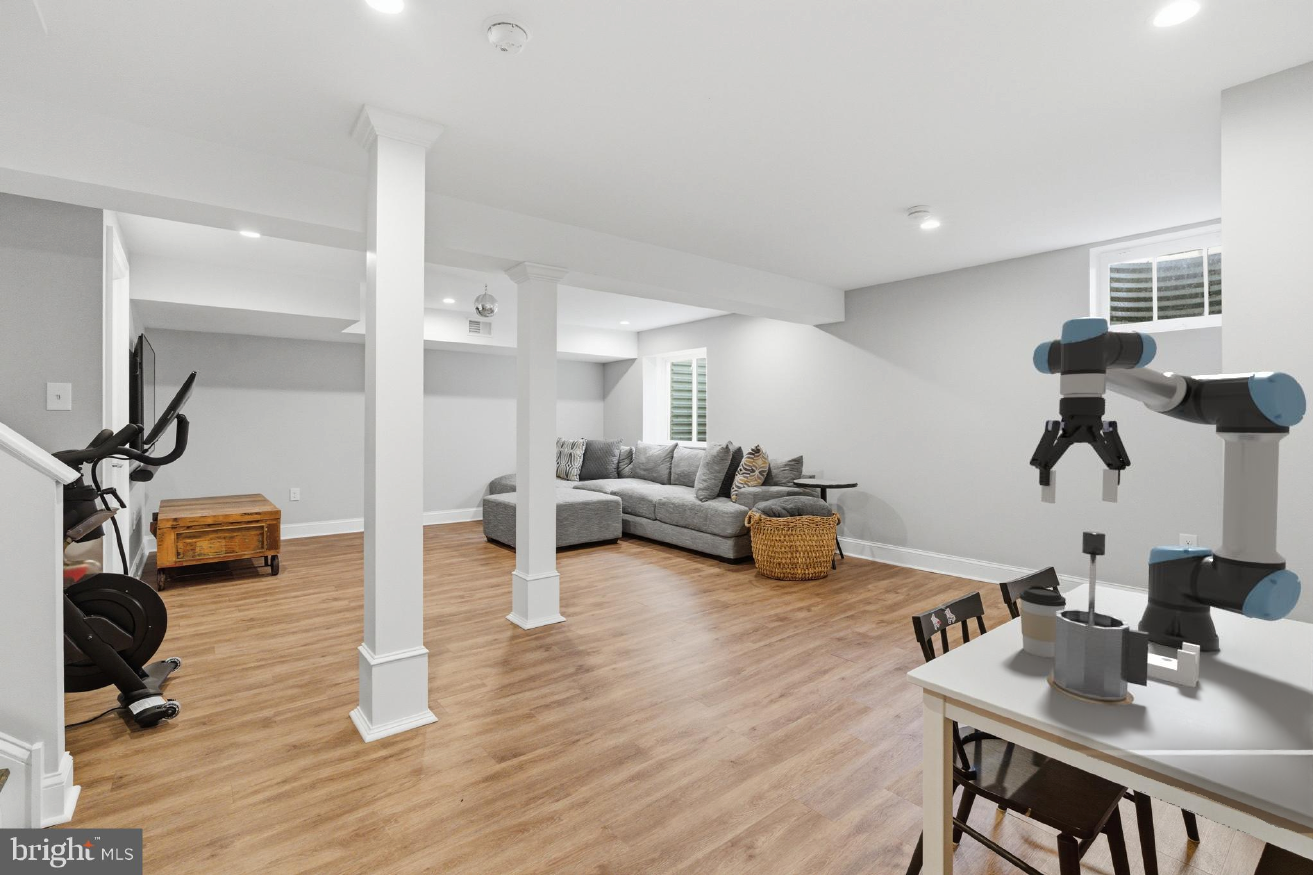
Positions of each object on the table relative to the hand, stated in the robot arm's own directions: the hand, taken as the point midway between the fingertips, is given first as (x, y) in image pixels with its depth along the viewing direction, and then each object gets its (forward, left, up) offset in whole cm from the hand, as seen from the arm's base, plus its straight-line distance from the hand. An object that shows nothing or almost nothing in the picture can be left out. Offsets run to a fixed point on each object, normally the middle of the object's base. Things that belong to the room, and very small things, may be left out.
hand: (1079, 502), depth 121 cm
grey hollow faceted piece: (-1, +3, -37) cm, 37 cm away
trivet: (-1, +3, -37) cm, 37 cm away
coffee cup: (-4, -16, -38) cm, 41 cm away
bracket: (-21, -5, -38) cm, 44 cm away
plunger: (-1, +3, -26) cm, 26 cm away
